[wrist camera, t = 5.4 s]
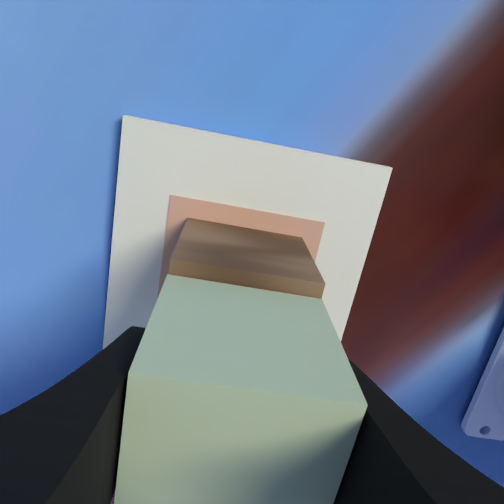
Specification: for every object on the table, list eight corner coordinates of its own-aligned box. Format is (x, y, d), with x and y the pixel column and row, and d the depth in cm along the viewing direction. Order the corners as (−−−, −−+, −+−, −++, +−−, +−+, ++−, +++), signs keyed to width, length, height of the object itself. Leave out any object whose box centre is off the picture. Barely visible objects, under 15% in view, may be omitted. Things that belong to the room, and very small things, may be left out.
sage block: (321, 298, 12) (367, 405, 8) (288, 420, 14) (311, 565, 9) (167, 274, 12) (128, 372, 7) (150, 402, 13) (109, 545, 9)
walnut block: (301, 237, 16) (325, 283, 12) (278, 336, 18) (291, 408, 14) (187, 217, 16) (170, 258, 12) (172, 320, 17) (152, 390, 13)
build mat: (388, 166, 16) (393, 168, 16) (291, 494, 21) (293, 502, 21) (125, 114, 15) (122, 115, 15) (93, 472, 20) (90, 480, 20)
